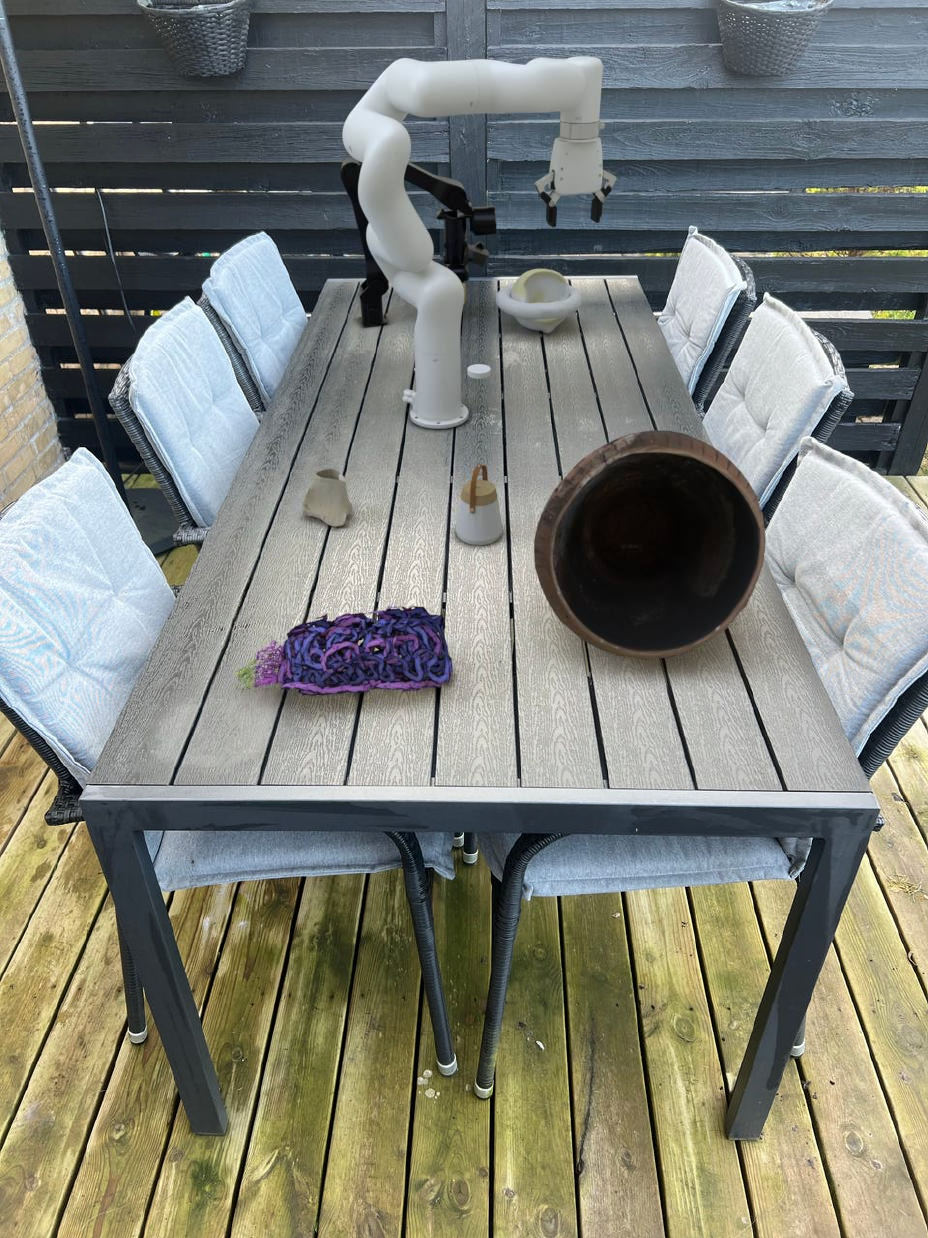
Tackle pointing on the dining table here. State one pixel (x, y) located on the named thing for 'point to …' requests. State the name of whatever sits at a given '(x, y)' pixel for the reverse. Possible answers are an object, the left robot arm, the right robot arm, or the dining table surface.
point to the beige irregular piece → (327, 498)
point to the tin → (464, 292)
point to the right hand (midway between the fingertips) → (573, 223)
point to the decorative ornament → (358, 654)
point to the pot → (650, 545)
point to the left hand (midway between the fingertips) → (456, 298)
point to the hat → (539, 299)
